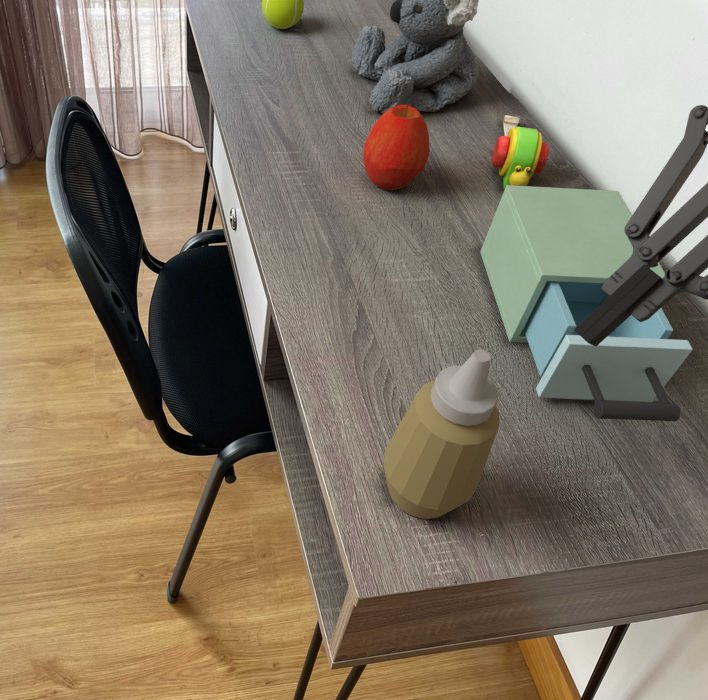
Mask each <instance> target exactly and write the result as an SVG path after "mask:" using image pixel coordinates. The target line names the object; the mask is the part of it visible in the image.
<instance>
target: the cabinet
mask: <svg viewBox="0 0 708 700" xmlns="http://www.w3.org/2000/svg"><path fill="white" fill-rule="evenodd" d="M632 215H633V214H632V212H631V211H630V209H629V207H628V205H627V203H626V202H625V200H624V198H623V197H622V195H621V193H620V191H619V190H606V189H587V188H586V189H585V188H568V187H567V188H566V187H549V186H529V185H527V186H513V185H506V188H505V190H504V189H503V193H502V195H501V198H500V200H499V204H498V206H497V208H496V211H495V213H494V216H493V218H492V221H491V224H490V226H489V229H488V232H487V234H486V237H485V238H484V241H483V244H482V246H481V249H480V251H479V253H480V257H481V259H482V262H483V265H484V268H485V271H486V274H487V277H488V278H487V279H488V280H489V284H490V287H491V289H492V293H493V296H494V298H495V301H496V305H497V308H498V311H499V314H500V318H501V320H502V324H503V326H504V330H505V333H506V337H507V339H508V341H509V343H519V344H520V343H521V344H522V343H523V344H529V343H528V340H527V337H526V335H525V332H524V329H523V328H524V326H525V324H526V322H527V320H528V318H529V316H530V314H531V312H532V310H533V308H534V306H535V304H536V302H537V300H538V298H539V296H540V294H541V292H542V290H543V288H544V286H545V284H546V282H547V281H559V282H580V283H601V284H604V282H605V281H606V280H607V279H608V278H609V277H610V276H611V275H612V274H613V273H614V272H616V270H617V269H619V268H620V267H621V266H622V265H623V264H624V263H625V262H626V261H627V260H628V259H629V258H630V257H631V256H632V254H633V246H632V244H631V242H630V241H629V239H628V237H627V235H626V234H625V231H624V228H625V226H626V224H627V223H628V221H629V220H630V218H631V217H632ZM650 269H651V270H652V271H654V272H655V273H656V274H657V275H659V276H660V277H661V278H663V277H664V276H665V271H664V269H663V267H662V265H661V263H660V261H659V262H658V266H656V267H653V268H650Z"/></svg>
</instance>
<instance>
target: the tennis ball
mask: <svg viewBox="0 0 708 700" xmlns="http://www.w3.org/2000/svg"><path fill="white" fill-rule="evenodd" d="M304 8H305V1H304V0H261V12H262V15H263V18H264V20H265V21H266V22H267V23H268V24H269V25H270V26H271V27H273V28H275V29H279V30H286V29H290V28H292V27H293V26H295V25H296V24H298V22H299V21H300V19H301V18H302V16H303V13H304V10H305V9H304Z"/></svg>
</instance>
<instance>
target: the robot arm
mask: <svg viewBox="0 0 708 700" xmlns="http://www.w3.org/2000/svg"><path fill="white" fill-rule="evenodd" d="M707 146H708V106H706V105H704V104H699V105H696V106H694V107H693V108H691V110H690V111H689V114H688V118H687V122H686V127H685V131H684V135H683V138H682V140H681V141H680V143H679V144H678V145H677V147H676V149H674V152H673V153H672V154H671V156H670V158H669V159H668V161H667V162H666V164H665V165H664V167H663V168H662V170H661V171H660V173H659V174H658V176H657V177H656V179H655V180H654V182H653V183H652V185H651V187H650V188H649V189H648V191H647V193H646V194H645V195H644V197H643V198H642V200H641V202H640V203H639V205H638V206H637V208H636V209H635V210H634V212H633V214H632V217H631V218H630V220H629V221H628V223H627V224H626V226H625V228H624V231H625V234H626V235H627V237H628V239H629V241H630V242H631V244H632V246H633V254H632V256H631V257H630V258H629V259H628V260H627V261H626V262H625V263H624V264H623V265H622V266H621V267H620V268H619V269H617V270H616V272H614V273H613V274H612V275H611V276H610V277H609V278H608V279H607V280H606V281H605V282H604V284H603V286H602V288H601V289H602V290H603V291H604V292H606V293H607V294H608V295H609V297H608V298H607V299H606V300H605V301H604V302H603V303H602V304H601V305H600V306H599V307H597V308H596V309H595V310H594V311H593V312H592V313H591V314H590V315H589V316H588V317H587V318H586V319H585V320H583V321H582V322H581V323H580V324H579V325H578V326H577V327H576V328H575V329H574V330H575V331H576V332H577V333H578V334H579V335H580V336H581V337H582V338H583V339H584V340H585V341H586V342H588V343H589V344H591V345H593V346H597V345H599V344H600V343H601V342H602V341H603V340H604V339H605V338H606V337H607V336H608V335H610V334H611V333H612V332H613V331H614V330H615V329H616V328H617V327H618V326H620V325H621V324H622V323H623V322H624V321H625V320H626V319H627V318H628V317H629V316H631V315H632V316H633V317H634V318H635V319H637V320H638V321H639V322H643V321H645V320H648V319H649V318H650V317H651V316H653V315H654V314H655V313H656V312H657V311H658V310H659V309H660V308H662V309H663V307H664V306H665V305H667V303H669V302H670V301H671V300H672V299H673V298H675V296H676V295H679V294H682V293H686V294H691V295H693V296H696V297H698V298H701V299H703V300H708V274H706V275H705V276H701V274H703V273H704V272H705V271H706V270H707V269H708V234H707V235H706V236H705V237H704V238H702V239H701V240H700V241H699V242H698V243H697V244H696V245H695V246H694V247H693V248H692V249H690V250H689V251H688V252H687V253H686V254H685V255H684V256H683V257H681V259H679V260H678V261H677V262H676V263H675V264H674V265H673V266H672V267H671V268H670V269H669V268H667V269H665V271H664V272H665V276H664V277H663V278H661V277H660V276H659V275H657V274H656V273H655V272H654V271H652V270H651V269H650V268H653V267H656V266H658V262H659V263H660V262H661V261H662V260H663V259H664V258H665V257H666V256H667V255H668V254H669V253H670V252H672V251H673V250H674V249H675V248H676V247H677V246H678V245H679V244H680V243H682V242H683V240H685V239H686V238H687V237H688V236H689V235H690V234H691V233H693V232H694V230H695V229H697V228H698V227H699V226H700V225H701V224H702V223H703V222H704V221H705V220H706V219H708V182H706V183H705V184H704V185H703V186H702V187H701V188H700V189H699V190H698V191H696V193H695V194H694V195H693V196H691V197H690V198H689V199H688V200H687V201H686V202H685V203H684V204H683V205H682V206H681V207H680V208H679V209H677V211H676V212H674V213H673V214H672V215H671V216H670V217H669V218H668V219H667V220H666V221H664V223H663V224H661V226H660V227H658V228H657V230H655V231H654V232H653V230H654V229H655V227H656V226H657V225H658V223H659V222H660V220H661V218H662V217H663V216H664V214H665V213H666V211H667V210H668V208H669V207H670V205H671V204H672V202H673V201H674V199H675V198H676V197H677V195H678V194H679V192H680V190H681V189H682V187H683V186H684V184H685V183H686V181H687V180H688V178H689V177H690V175H691V174H692V172H693V171H694V170H695V168H696V167H697V165H698V164H699V162H700V160H701V159H702V157H703V155H704V154H705V152H706V149H707ZM652 232H653V233H652ZM651 233H652V234H651Z"/></svg>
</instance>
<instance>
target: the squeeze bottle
mask: <svg viewBox="0 0 708 700" xmlns="http://www.w3.org/2000/svg"><path fill="white" fill-rule="evenodd" d="M490 363H491V354H490V353H489V352H488V351H487V350H485V349H483V348H482V349H481V348H480V349H475V350H474V352H473V353H472V354H471V355H470V356H469V357H468V358H467V360H465V362H464V363H463V364H461V365H459V364H458V365H450V366H448V367H446V368H444V369H442V370H441V371H440V372H439V374H438V375H436V377H435V379H433V380H431V381H427V382H426V383H424V384H423V385H422V386H421V387H420V389H419V390H418V392H417V393H416V395H415V396H414V398H413V400H412V401H411V403H410V405H409V407H408V408H407V410H406V412H405V414H404V415H403V417H402V419H401V420H400V423H398V426H397V428H396V430H395V431H394V433H393V435H392V437H391V439H390V440H389V442H388V443H387V445H386V447H385V449H384V456H383V462H382V463H383V464H382V465H383V470H384V476H385V481H386V486H387V489H388V492H389V495H390V498H391V499H392V501H393V502H394V503H395V505H396V506H397V507H398V508H399V509H400V510H401V511H402V512H405V513H406V514H408V515H410V516H411V517H414V518H417V519H424V520H429V519H430V520H431V519H437V518H440V517H442V516H444V515H446V514H448V513H450V512H451V511H453V510H455V509H457V508H459V507H461V506H462V505H464V504H466V503H467V502H469V501H470V500H471V499H472V497H473V495H474V494H475V492H476V490H477V488H478V487H479V484H480V481H481V478H482V477H483V473H484V471H485V467H486V465H487V462H488V459H489V456H490V454H491V450H492V448H493V444H494V441H495V440H496V436H497V433H498V430H499V428H500V411H499V409H498V408H497V404H498V401H499V390H498V389H497V386H496V385H495V382H494V381H493V380H492V379H491V378H490V377H489V372H490Z"/></svg>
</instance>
